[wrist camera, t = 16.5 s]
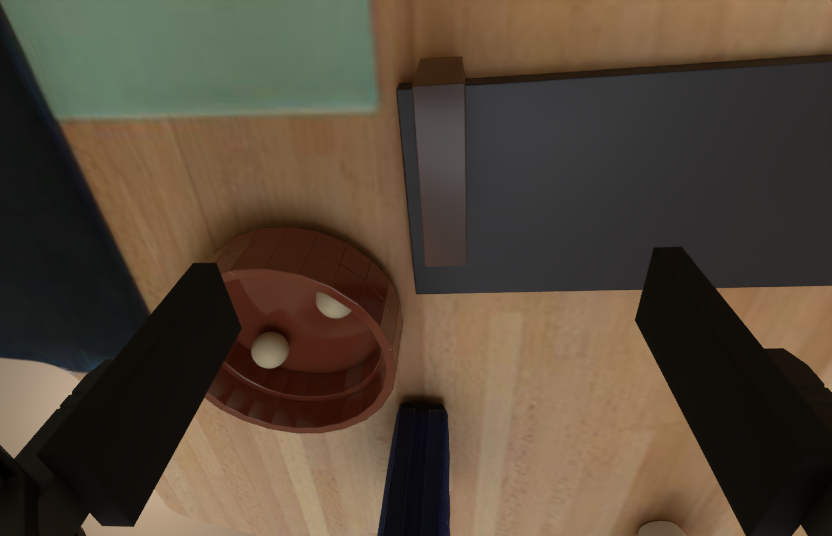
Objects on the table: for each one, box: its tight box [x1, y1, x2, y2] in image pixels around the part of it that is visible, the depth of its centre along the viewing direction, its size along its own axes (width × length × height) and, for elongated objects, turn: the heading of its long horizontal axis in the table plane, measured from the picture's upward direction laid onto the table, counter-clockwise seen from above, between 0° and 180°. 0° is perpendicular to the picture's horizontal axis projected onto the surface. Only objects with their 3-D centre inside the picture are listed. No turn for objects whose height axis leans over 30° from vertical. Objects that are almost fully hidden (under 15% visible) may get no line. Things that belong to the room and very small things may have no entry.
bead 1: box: [251, 332, 289, 368], centre depth 35 cm, size 3×3×3 cm
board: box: [396, 55, 832, 294], centre depth 27 cm, size 36×14×2 cm, turn 94°
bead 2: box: [316, 291, 352, 318], centre depth 32 cm, size 3×3×3 cm
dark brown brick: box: [412, 56, 467, 267], centre depth 24 cm, size 2×9×6 cm, turn 4°
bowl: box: [204, 227, 403, 433], centre depth 33 cm, size 15×15×6 cm
